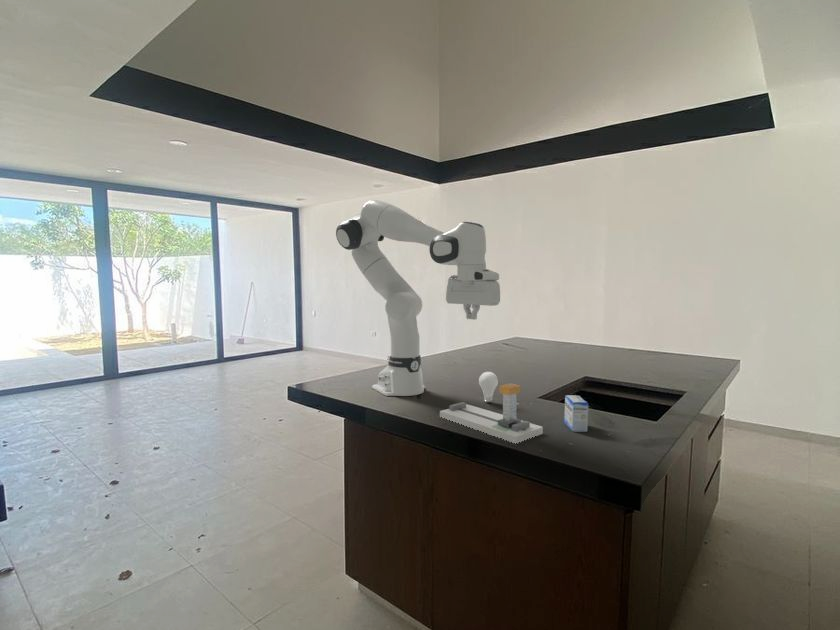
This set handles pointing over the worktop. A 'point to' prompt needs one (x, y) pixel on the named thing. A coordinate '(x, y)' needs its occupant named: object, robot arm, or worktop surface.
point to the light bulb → (488, 385)
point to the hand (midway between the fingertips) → (471, 319)
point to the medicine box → (576, 413)
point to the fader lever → (509, 404)
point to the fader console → (490, 422)
